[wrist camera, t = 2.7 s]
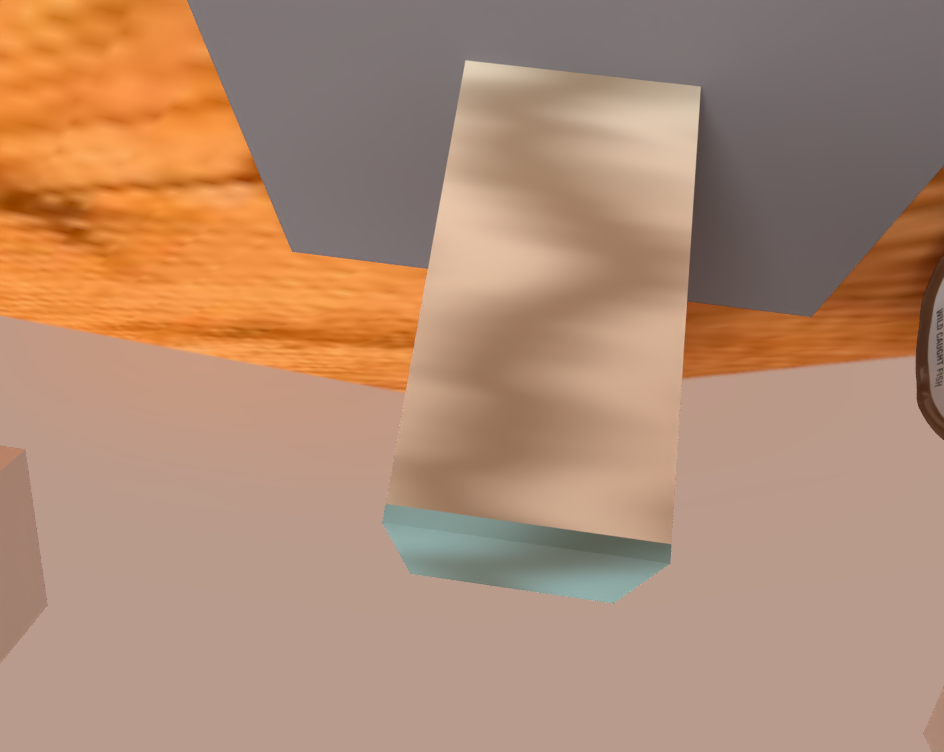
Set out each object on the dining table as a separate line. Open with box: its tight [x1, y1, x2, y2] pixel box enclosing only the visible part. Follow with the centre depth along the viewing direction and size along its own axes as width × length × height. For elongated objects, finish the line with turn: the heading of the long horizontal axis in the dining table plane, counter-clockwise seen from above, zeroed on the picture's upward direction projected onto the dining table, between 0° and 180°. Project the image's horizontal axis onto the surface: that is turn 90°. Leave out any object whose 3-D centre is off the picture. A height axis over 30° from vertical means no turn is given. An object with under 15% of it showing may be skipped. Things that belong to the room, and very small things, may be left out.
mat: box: [187, 0, 944, 317], centre depth 26 cm, size 20×17×1 cm
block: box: [382, 60, 701, 603], centre depth 24 cm, size 6×8×12 cm
